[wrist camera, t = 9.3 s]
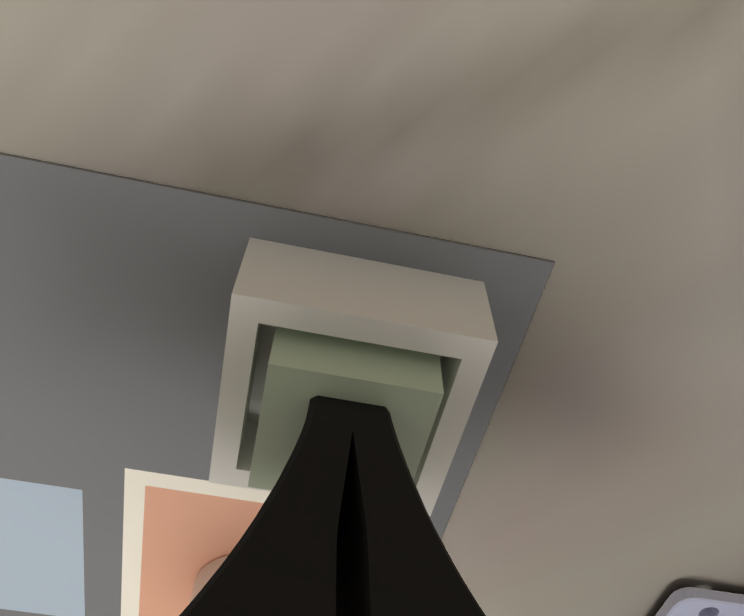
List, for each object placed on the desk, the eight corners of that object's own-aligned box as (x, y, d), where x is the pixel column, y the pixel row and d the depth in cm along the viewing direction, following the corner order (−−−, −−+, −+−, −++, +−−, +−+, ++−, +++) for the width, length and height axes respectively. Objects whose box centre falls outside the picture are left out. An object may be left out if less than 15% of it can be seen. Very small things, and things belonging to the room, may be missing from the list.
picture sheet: (544, 238, 14) (554, 262, 14) (384, 645, 23) (384, 676, 22) (-244, 81, 13) (-287, 98, 12) (-110, 581, 21) (-130, 611, 20)
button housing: (484, 280, 14) (498, 342, 12) (425, 447, 16) (430, 515, 15) (250, 236, 13) (231, 293, 12) (226, 414, 16) (208, 482, 14)
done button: (436, 332, 13) (443, 394, 12) (400, 443, 15) (402, 510, 14) (280, 304, 13) (268, 363, 12) (261, 421, 15) (247, 486, 13)
